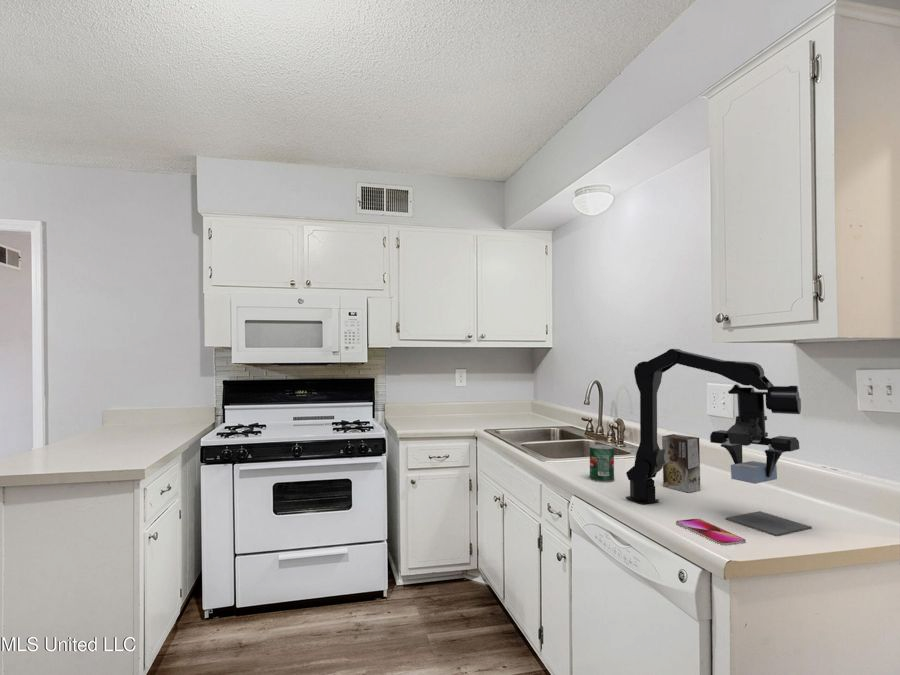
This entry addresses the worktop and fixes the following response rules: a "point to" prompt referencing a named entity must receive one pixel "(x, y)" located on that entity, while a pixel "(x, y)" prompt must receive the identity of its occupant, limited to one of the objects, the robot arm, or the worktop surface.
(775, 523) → the mat
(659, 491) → the worktop surface
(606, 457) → the canned tomato
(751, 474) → the card box
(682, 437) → the coffee box
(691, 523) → the smartphone
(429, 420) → the worktop surface
